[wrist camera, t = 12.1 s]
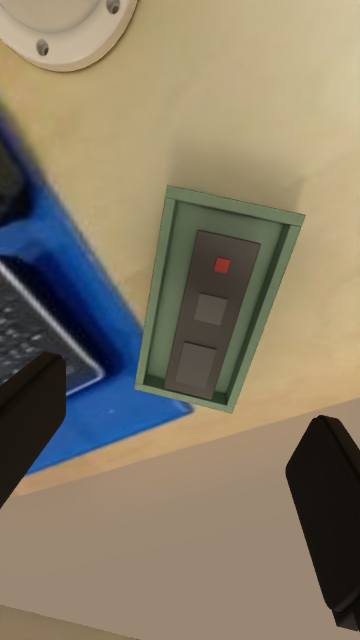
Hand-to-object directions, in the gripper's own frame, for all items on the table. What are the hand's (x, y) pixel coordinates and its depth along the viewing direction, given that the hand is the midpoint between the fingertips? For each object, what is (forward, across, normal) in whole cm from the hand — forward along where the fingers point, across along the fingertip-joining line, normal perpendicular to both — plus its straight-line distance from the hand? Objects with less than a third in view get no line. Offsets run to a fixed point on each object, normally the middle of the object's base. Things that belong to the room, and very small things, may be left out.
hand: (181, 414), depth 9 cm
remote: (+14, -1, +1) cm, 14 cm away
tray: (+15, -1, +1) cm, 15 cm away
